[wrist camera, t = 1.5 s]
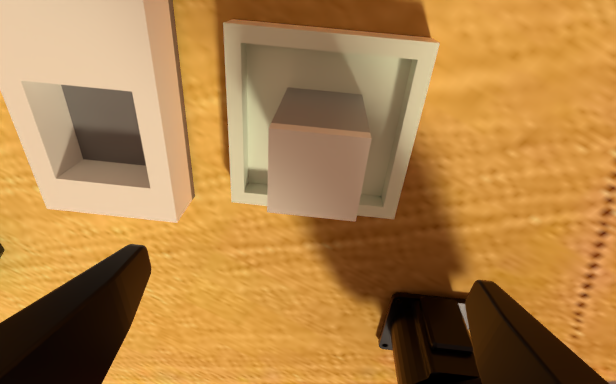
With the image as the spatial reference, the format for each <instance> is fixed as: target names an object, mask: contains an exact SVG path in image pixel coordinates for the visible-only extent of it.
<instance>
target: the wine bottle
mask: <svg viewBox="0 0 616 384" xmlns="http://www.w3.org/2000/svg"><path fill="white" fill-rule="evenodd" d="M3 252H4V249H3V247H2V246H1V244H0V257H1V256H2V254H3Z"/></svg>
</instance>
